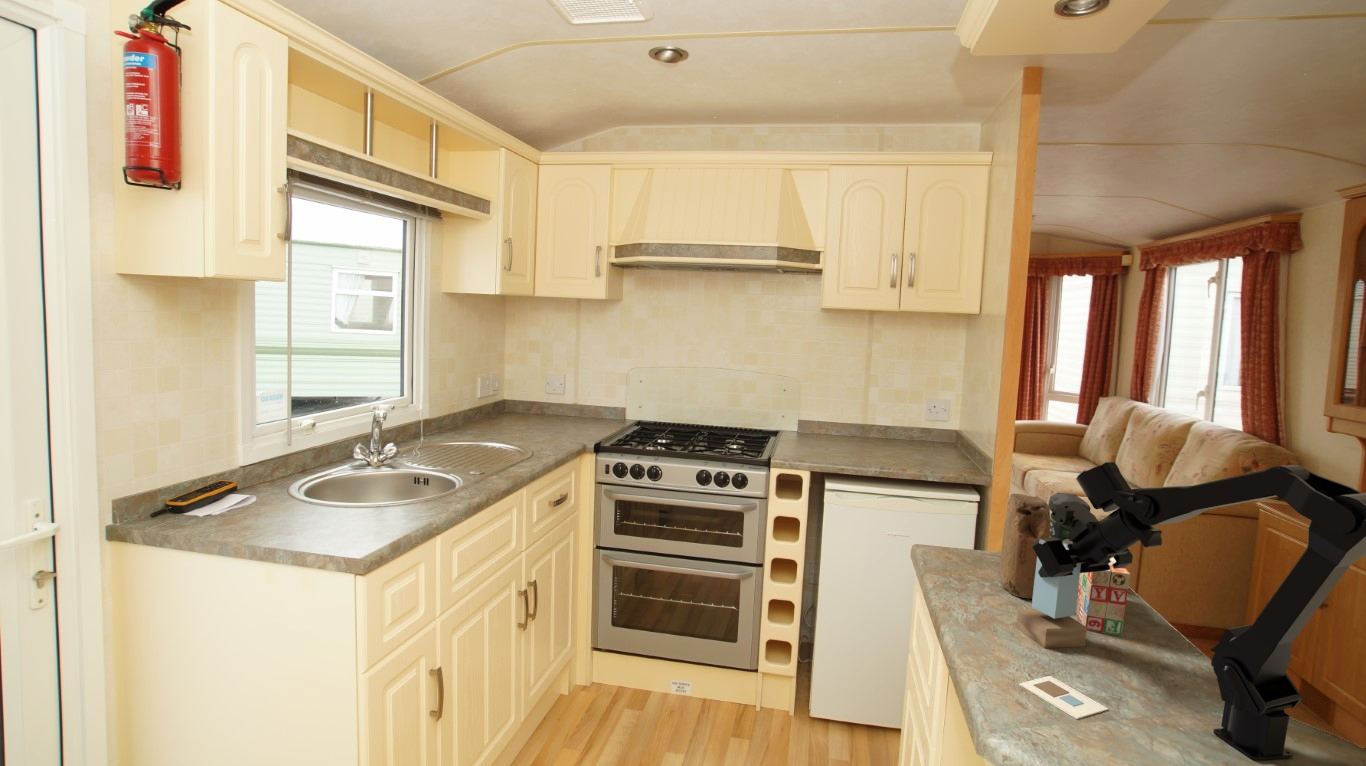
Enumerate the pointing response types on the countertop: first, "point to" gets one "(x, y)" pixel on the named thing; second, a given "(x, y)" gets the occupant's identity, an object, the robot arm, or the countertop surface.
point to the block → (1022, 543)
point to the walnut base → (1051, 629)
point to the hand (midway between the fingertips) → (1050, 573)
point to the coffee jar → (1055, 529)
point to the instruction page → (1063, 697)
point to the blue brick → (1056, 593)
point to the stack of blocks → (1103, 599)
